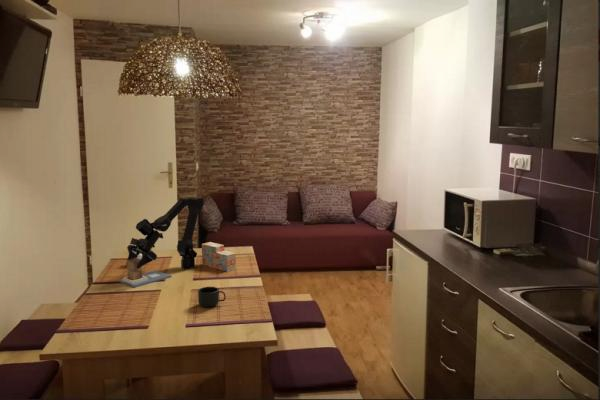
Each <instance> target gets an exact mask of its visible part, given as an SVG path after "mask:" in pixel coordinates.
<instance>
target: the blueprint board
mask: <svg viewBox="0 0 600 400" xmlns="http://www.w3.org/2000/svg"><path fill="white" fill-rule="evenodd" d="M170 278H173V276H172V275H171V274H169V273H165V272H161V271H159V270H152V271H148V272H145V273H142V278H141V279H137V280H134V281H132V280H130V279H128V276H125V277H122V279H119V280H118V283H121V284H123V285H126V286H129V287H132V288H138V287H141V286H144V285H148V284H153V283H155V282H159V281H162V280H166V279H170Z"/></svg>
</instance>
